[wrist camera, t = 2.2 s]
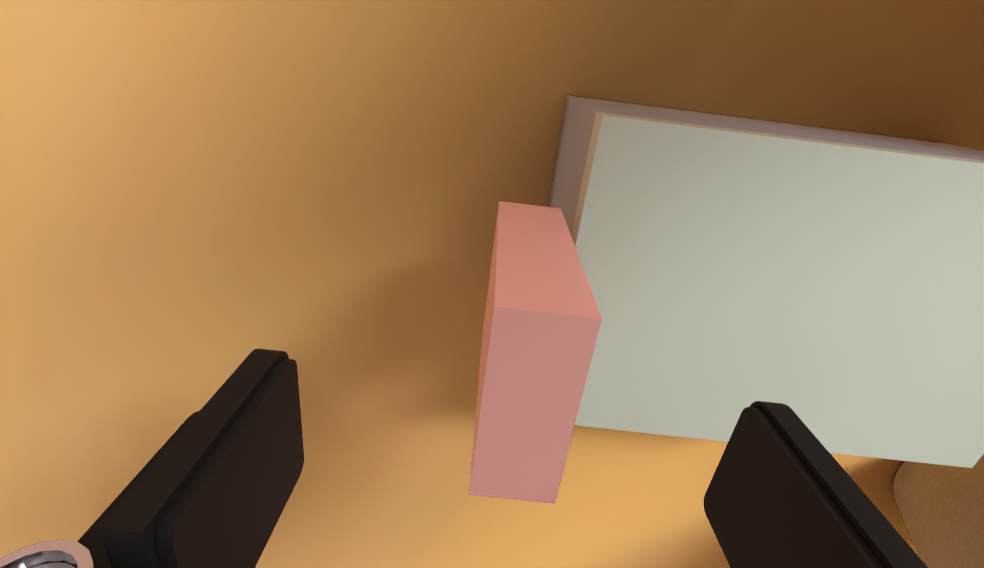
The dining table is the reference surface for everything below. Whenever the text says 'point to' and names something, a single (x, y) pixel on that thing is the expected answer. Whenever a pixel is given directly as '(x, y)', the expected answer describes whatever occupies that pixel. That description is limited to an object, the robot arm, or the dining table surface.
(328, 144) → the dining table surface
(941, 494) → the plant pot
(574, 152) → the tub
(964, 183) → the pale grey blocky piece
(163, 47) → the dining table surface
